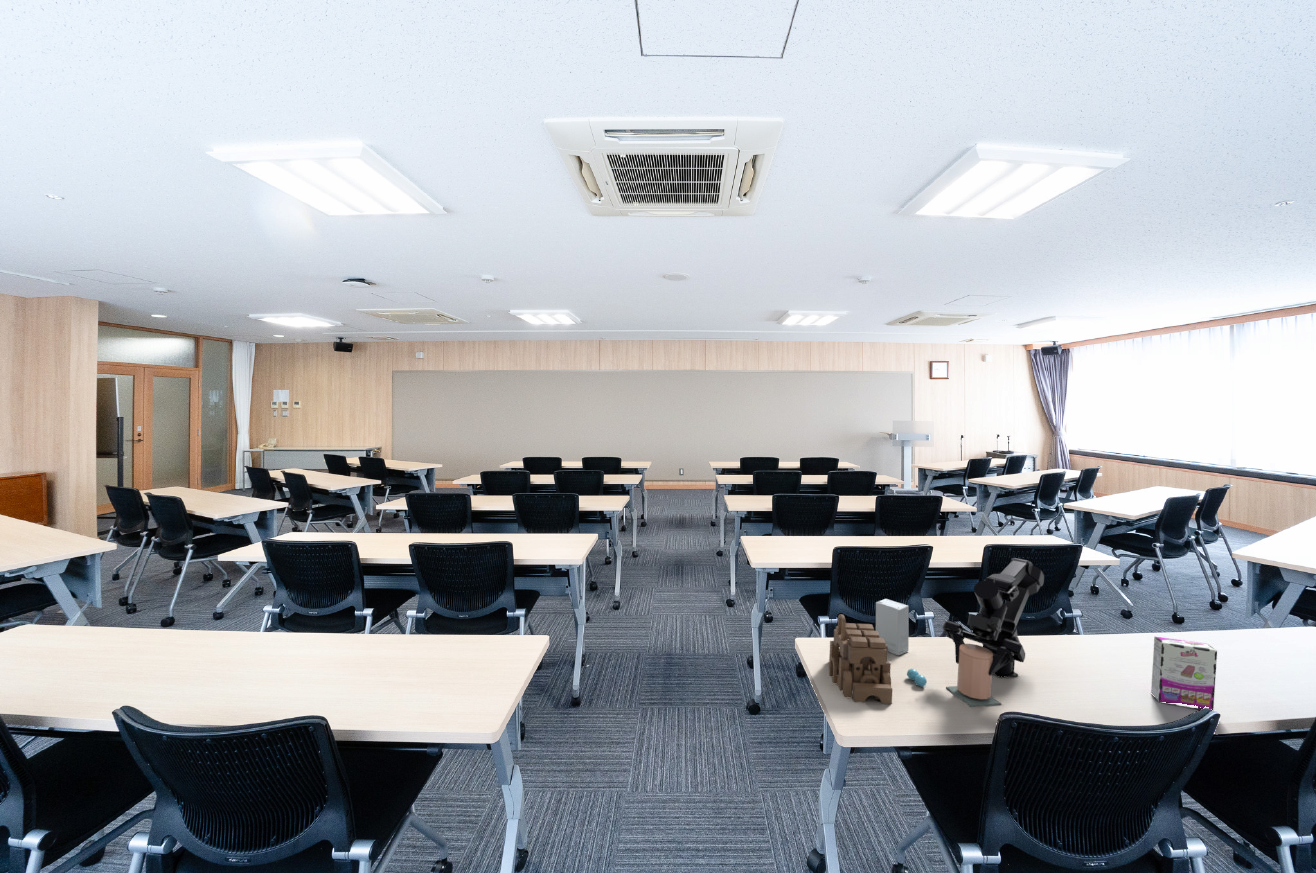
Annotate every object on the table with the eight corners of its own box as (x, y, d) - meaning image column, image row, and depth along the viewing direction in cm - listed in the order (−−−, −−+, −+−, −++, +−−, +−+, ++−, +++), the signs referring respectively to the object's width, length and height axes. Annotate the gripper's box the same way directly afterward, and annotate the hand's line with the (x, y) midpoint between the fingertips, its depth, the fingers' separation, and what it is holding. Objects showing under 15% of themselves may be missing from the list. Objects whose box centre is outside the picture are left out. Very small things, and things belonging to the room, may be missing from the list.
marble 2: (921, 682, 146) (922, 672, 146) (928, 688, 143) (929, 677, 143) (911, 683, 146) (912, 672, 146) (918, 689, 143) (919, 678, 143)
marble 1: (914, 676, 150) (914, 666, 149) (920, 682, 147) (921, 671, 146) (904, 677, 149) (905, 666, 149) (911, 682, 146) (911, 672, 146)
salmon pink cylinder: (966, 680, 145) (968, 641, 144) (995, 693, 139) (998, 652, 138) (951, 688, 141) (954, 647, 140) (981, 702, 135) (984, 659, 134)
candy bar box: (1202, 702, 139) (1207, 642, 138) (1213, 712, 135) (1219, 650, 134) (1148, 693, 144) (1153, 635, 143) (1158, 702, 139) (1163, 642, 138)
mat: (975, 686, 145) (975, 684, 145) (1001, 704, 136) (1001, 703, 136) (946, 688, 144) (946, 686, 144) (970, 706, 135) (970, 705, 135)
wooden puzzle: (900, 705, 135) (903, 634, 134) (842, 701, 136) (845, 631, 135) (871, 663, 157) (874, 602, 156) (821, 660, 158) (824, 600, 157)
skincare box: (908, 652, 165) (911, 605, 164) (897, 656, 162) (900, 609, 161) (884, 641, 172) (886, 597, 171) (873, 645, 168) (875, 600, 168)
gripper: (947, 592, 148) (928, 641, 142) (1024, 613, 134) (1007, 668, 127) (957, 612, 154) (939, 660, 147) (1032, 635, 139) (1016, 689, 133)
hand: (972, 668), depth 139 cm, fingers closed on salmon pink cylinder, 7 cm apart
